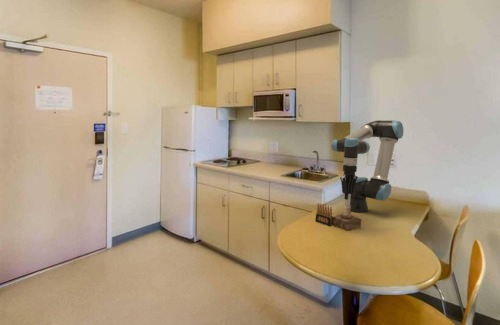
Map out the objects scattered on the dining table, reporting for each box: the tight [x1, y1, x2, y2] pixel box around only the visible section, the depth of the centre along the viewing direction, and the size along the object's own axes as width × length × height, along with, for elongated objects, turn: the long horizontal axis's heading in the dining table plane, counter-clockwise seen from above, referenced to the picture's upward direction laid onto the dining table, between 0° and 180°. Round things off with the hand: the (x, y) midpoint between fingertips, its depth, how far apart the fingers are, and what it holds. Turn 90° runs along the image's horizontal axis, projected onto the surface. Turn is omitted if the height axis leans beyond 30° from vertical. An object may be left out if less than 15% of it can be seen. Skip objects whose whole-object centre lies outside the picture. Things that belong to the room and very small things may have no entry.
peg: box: [342, 204, 351, 220], centre depth 168 cm, size 4×4×12 cm
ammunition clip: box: [315, 202, 333, 227], centre depth 171 cm, size 11×2×12 cm, turn 41°
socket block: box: [332, 213, 362, 232], centre depth 169 cm, size 12×12×5 cm
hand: (347, 204), depth 167 cm, fingers closed
